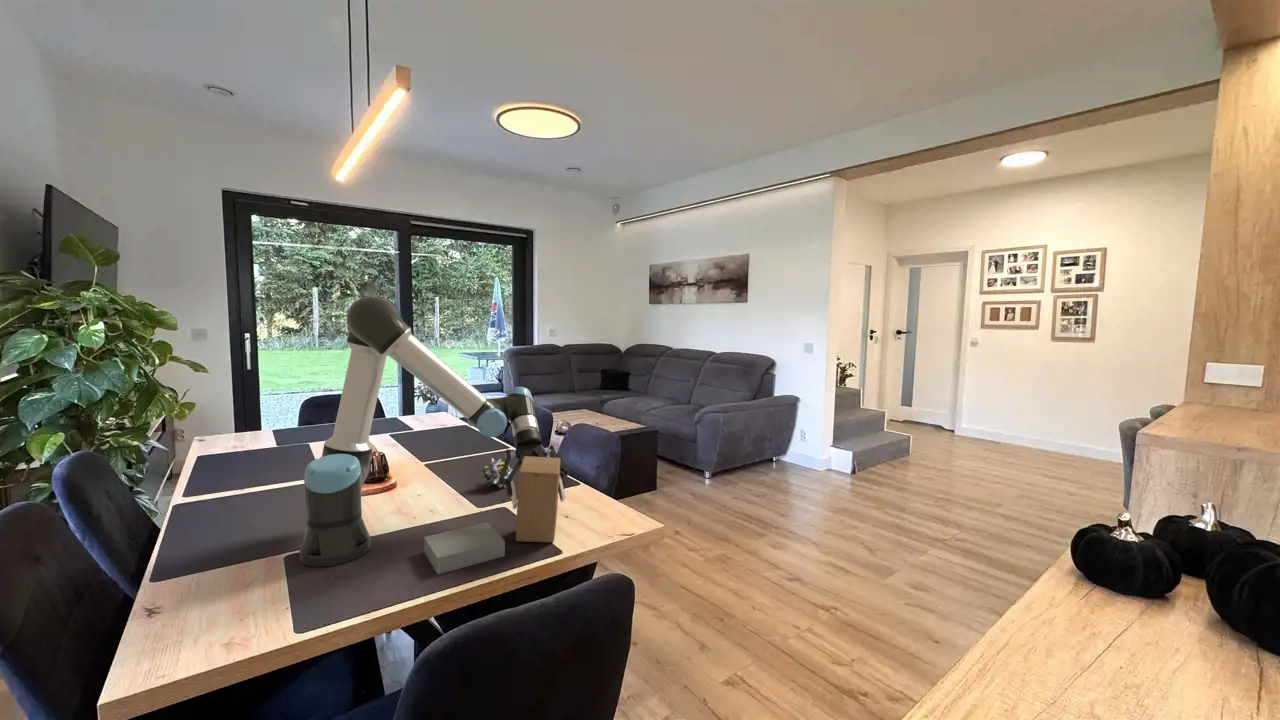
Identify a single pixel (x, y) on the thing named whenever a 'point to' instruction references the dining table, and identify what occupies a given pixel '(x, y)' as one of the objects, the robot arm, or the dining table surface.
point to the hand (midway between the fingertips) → (539, 503)
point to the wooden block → (537, 499)
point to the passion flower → (495, 471)
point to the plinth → (463, 547)
